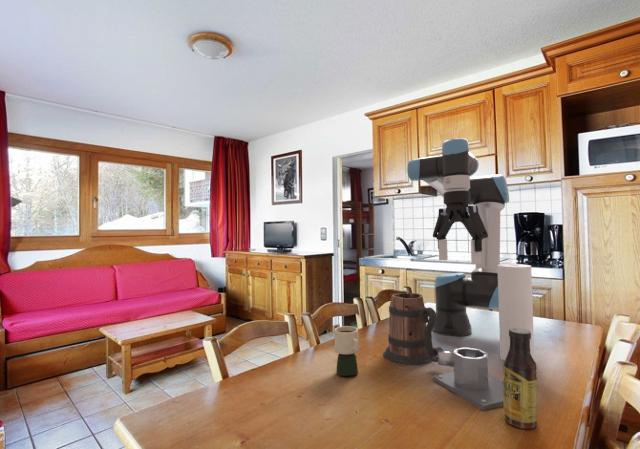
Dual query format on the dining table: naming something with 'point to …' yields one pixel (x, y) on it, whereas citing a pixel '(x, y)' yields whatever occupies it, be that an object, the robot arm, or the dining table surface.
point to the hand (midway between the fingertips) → (458, 261)
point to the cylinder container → (514, 303)
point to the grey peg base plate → (479, 398)
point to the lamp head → (467, 367)
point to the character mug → (346, 349)
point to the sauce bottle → (520, 381)
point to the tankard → (410, 331)
